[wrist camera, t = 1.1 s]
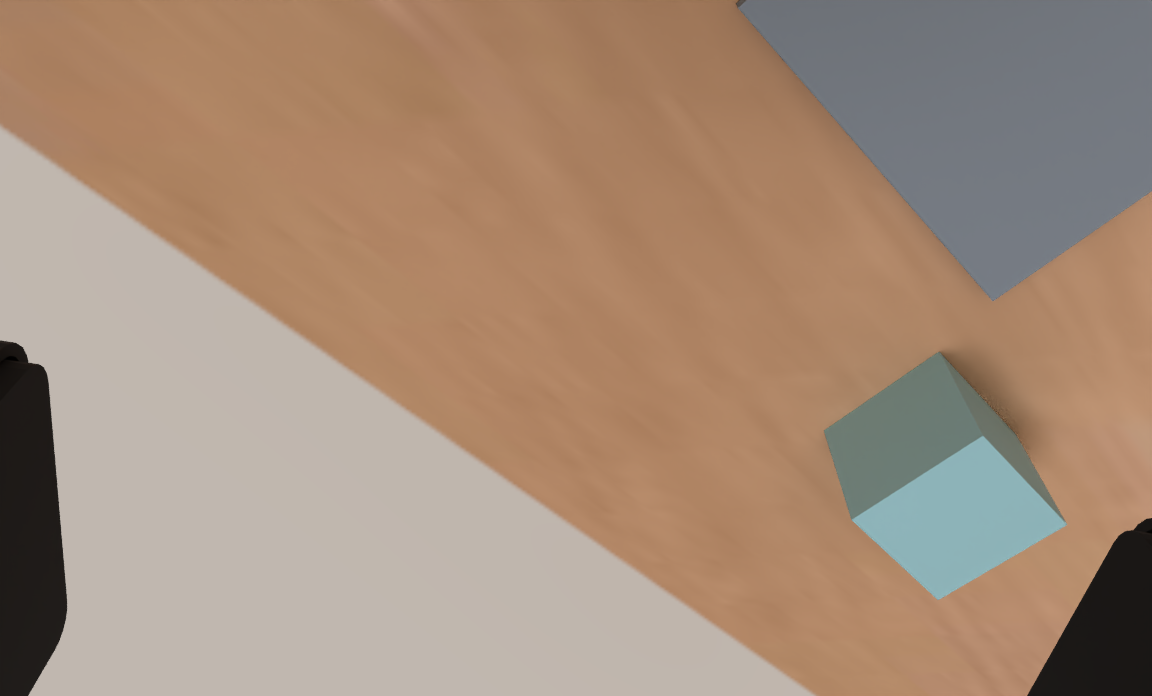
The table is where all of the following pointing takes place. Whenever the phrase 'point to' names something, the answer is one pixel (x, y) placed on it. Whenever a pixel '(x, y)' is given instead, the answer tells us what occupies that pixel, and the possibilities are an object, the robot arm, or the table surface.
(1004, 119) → the mat
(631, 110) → the table surface
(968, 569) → the cube
